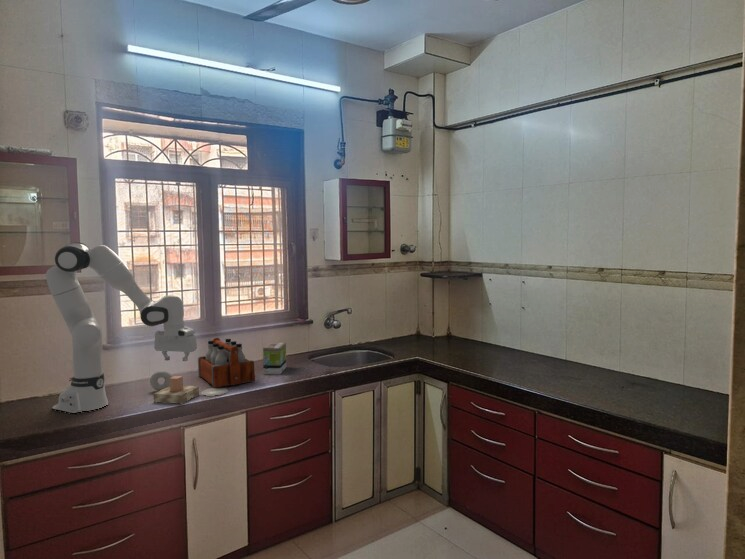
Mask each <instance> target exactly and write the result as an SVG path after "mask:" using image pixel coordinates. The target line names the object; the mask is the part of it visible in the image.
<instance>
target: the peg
mask: <svg viewBox="0 0 745 559" xmlns="http://www.w3.org/2000/svg"><path fill="white" fill-rule="evenodd" d="M183 379H184V376H181V375H179V376H178V375H174V376H172V377H171V378H170V391H171V392H179V391H181V390H183V386H184V380H183Z"/></svg>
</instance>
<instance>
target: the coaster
mask: <svg viewBox="0 0 745 559" xmlns="http://www.w3.org/2000/svg"><path fill="white" fill-rule="evenodd" d="M227 391H228V389H227V388H225V387H211V388H206V389H204V390H202V391H201V393H200V394H201V396H203V395H206V396H205V397H216V396H215V395H220V396H222V395H221V394H223V395H225V394H224V393H226V392H227ZM227 393H228V392H227ZM227 393H226V394H227Z"/></svg>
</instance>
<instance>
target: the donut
mask: <svg viewBox="0 0 745 559" xmlns="http://www.w3.org/2000/svg"><path fill="white" fill-rule="evenodd" d="M150 376H151V377H150V378H149V383H150V386H151V388H153V389H154V391H156V392H158V391H160V390H163V389H165V388H167V387H169V386H170V378H171V377H173V376H172V375H171V373H169V372H168V371H167V370H162V369H161V370H157V371H156V372H154V373H153V374H151V375H150ZM161 378H163V379H164V382H163V383H159V381H158V380H159V379H161Z"/></svg>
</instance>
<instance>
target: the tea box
mask: <svg viewBox="0 0 745 559" xmlns="http://www.w3.org/2000/svg"><path fill="white" fill-rule="evenodd" d="M262 350H263V351H262V354H263V355H262V360H263V361H262V368H263V369H262V374H263V375H281V374H282V373H283V372H284V370H285V369H286V368H287V343H286V342H268V343H267V344H266V345H265V346H264V347H263V348H262Z"/></svg>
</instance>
